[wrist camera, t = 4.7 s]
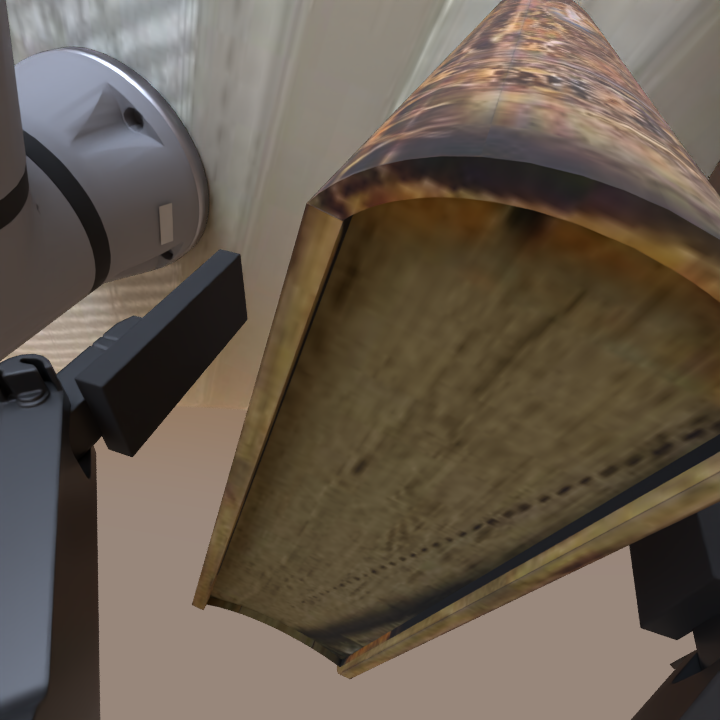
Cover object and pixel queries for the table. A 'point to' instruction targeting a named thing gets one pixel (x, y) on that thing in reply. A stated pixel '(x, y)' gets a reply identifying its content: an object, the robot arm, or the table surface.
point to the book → (479, 353)
